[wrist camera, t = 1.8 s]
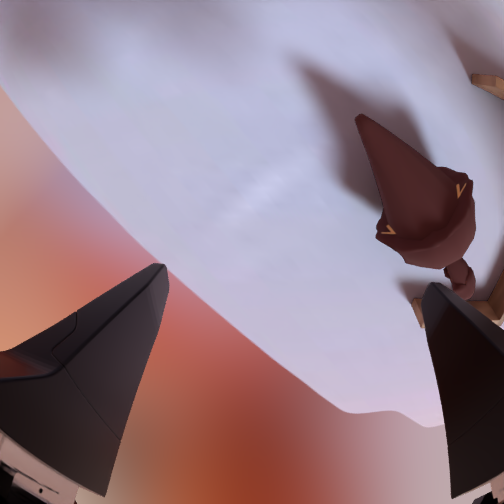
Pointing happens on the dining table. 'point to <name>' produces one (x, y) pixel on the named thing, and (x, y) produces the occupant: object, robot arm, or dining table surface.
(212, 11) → the dining table surface
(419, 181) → the icecream
